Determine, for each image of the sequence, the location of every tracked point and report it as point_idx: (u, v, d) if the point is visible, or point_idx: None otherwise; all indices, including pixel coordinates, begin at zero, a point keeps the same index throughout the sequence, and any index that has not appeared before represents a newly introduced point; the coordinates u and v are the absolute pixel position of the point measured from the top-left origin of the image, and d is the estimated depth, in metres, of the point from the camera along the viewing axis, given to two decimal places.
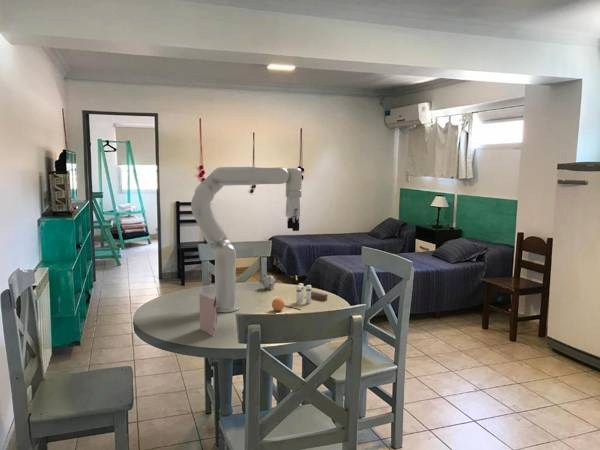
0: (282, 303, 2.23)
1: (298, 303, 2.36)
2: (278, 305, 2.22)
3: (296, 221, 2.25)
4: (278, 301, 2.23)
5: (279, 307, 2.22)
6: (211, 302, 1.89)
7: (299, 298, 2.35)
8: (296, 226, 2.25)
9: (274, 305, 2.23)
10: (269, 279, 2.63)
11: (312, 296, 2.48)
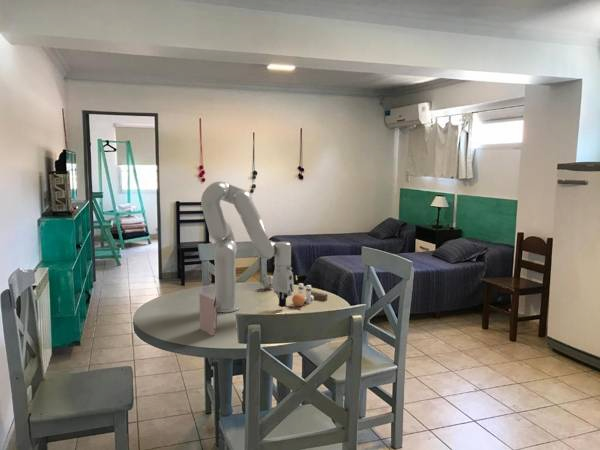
0: (300, 304, 2.31)
1: None
2: (302, 304, 2.33)
3: None
4: None
5: None
6: (211, 302, 1.89)
7: (305, 298, 2.40)
8: None
9: None
10: (269, 279, 2.63)
11: None
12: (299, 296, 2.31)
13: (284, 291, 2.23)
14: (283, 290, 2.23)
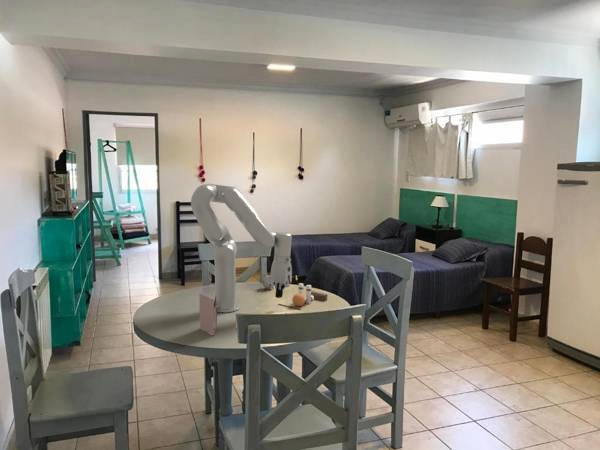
0: (300, 304, 2.31)
1: None
2: (302, 304, 2.33)
3: None
4: None
5: (303, 303, 2.33)
6: (211, 302, 1.89)
7: None
8: None
9: None
10: (269, 279, 2.63)
11: None
12: (299, 296, 2.31)
13: (282, 282, 2.23)
14: (281, 281, 2.23)
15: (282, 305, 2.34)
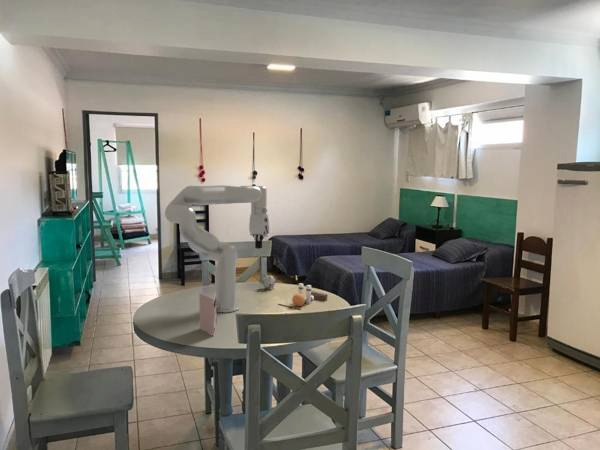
0: (300, 304, 2.31)
1: None
2: (302, 304, 2.33)
3: None
4: None
5: (303, 303, 2.33)
6: (211, 302, 1.89)
7: None
8: None
9: None
10: (269, 279, 2.63)
11: None
12: (299, 296, 2.31)
13: (260, 232, 2.33)
14: (259, 232, 2.34)
15: (282, 305, 2.34)
